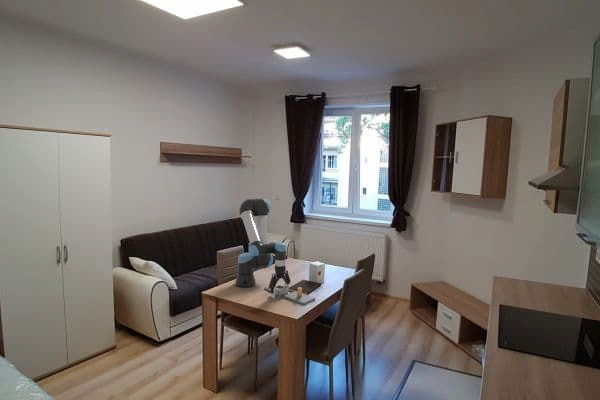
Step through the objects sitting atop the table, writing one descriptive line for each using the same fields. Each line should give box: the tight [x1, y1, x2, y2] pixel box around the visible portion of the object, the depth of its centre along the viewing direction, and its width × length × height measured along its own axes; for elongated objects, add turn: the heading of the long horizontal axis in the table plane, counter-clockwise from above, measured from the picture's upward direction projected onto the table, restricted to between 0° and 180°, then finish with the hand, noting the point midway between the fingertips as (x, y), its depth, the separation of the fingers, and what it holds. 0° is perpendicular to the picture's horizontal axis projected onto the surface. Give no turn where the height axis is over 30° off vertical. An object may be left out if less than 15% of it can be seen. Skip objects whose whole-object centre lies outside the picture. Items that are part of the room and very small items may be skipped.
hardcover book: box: [288, 279, 322, 296], centre depth 254 cm, size 16×23×2 cm
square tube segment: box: [274, 284, 289, 299], centre depth 238 cm, size 8×8×6 cm
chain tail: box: [263, 286, 271, 293], centre depth 246 cm, size 12×4×1 cm, turn 49°
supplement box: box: [308, 260, 326, 284], centre depth 268 cm, size 9×9×15 cm
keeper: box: [283, 287, 316, 306], centre depth 232 cm, size 18×12×8 cm, turn 49°
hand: (279, 295), depth 238 cm, fingers open, 12 cm apart
